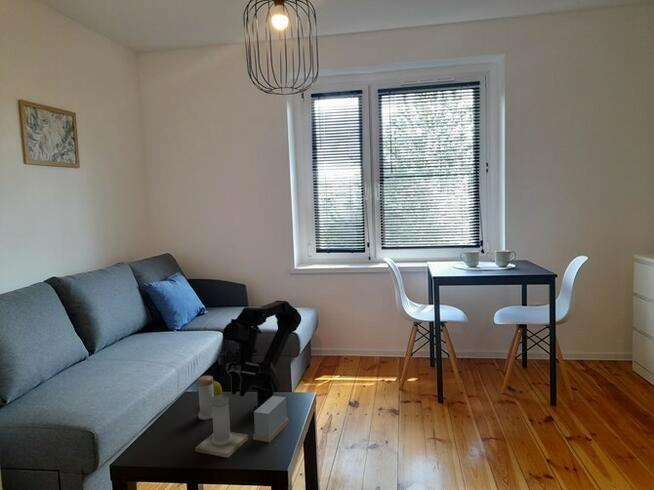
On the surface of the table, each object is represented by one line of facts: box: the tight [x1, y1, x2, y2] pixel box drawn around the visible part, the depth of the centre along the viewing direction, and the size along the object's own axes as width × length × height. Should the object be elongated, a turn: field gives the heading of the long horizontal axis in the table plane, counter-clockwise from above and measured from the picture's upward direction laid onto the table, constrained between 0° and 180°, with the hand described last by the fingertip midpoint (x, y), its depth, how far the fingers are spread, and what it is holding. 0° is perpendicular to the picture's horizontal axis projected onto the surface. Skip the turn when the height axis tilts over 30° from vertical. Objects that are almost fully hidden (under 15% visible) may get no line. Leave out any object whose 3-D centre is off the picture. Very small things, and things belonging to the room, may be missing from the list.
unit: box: [252, 395, 290, 443], centre depth 142 cm, size 13×6×8 cm, turn 159°
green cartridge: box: [211, 394, 233, 446], centre depth 135 cm, size 6×6×13 cm
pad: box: [194, 431, 249, 459], centre depth 135 cm, size 11×11×1 cm
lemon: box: [213, 380, 223, 396], centre depth 165 cm, size 6×6×8 cm
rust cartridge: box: [197, 375, 214, 421], centre depth 154 cm, size 6×6×13 cm
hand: (237, 395), depth 145 cm, fingers open, 9 cm apart
